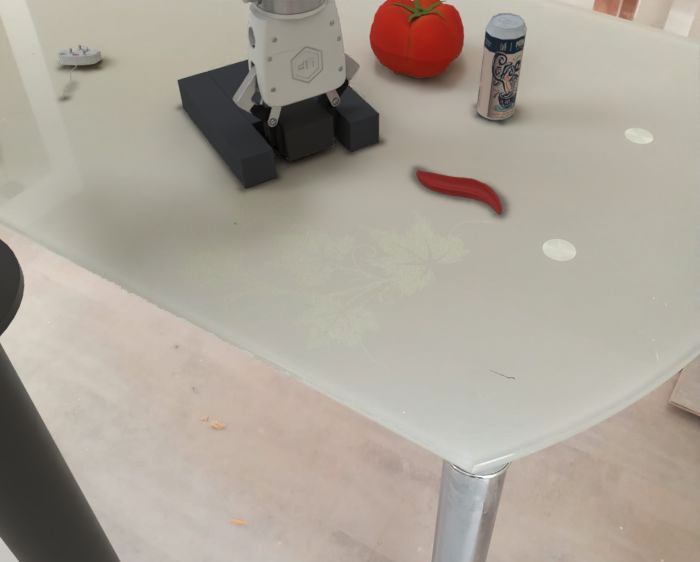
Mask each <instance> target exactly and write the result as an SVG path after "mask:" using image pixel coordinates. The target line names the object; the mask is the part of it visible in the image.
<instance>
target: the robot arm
mask: <svg viewBox="0 0 700 562" xmlns="http://www.w3.org/2000/svg"><path fill="white" fill-rule="evenodd" d="M241 1H242V3H243V4H249V3H250V4H249V8H248V9H249V10H248V19H247V59H248V62H249V73H248V75H247V76H246V78H245V79H244V81H243V82H242V84H241V86H240V87H239V89H238V90H237V92H236V93H235V95H234V96H233V101H234V102H235V104H236V105H237V106H238V107H239V108H241V109H243V110H245V111H247V112H248V113H251V114H253V116H255V117H257V118H258V119H260V120H262V121H263V122H264V130H265V138H266V142H267V143H268V144H269V145H270V146H271V147H272V149H273V150H275V151H276V153H277V154H278V155H279V156H282V155H284V152H285V146H284V137H283V126H282V124H281V123H280V122H279V121H278V119H279V115H280V112H281V108H282V106H286V105H289V104H292V103H296V102H299V101H302V100H305V99H308V98H311V97H314V96H318V95H320V96H318V99H317V102H318V103H319V104H320V105H321V106H322V107H323V108H324V109H325V110H326V111H327V112H328V113H330V114H331V115H332V116H333V129H334V138H336V136H335V125H337V114H336V106H337V105H339V103H340V97H341V95H342V94H343V92H344V91H345V90H346V88H347V87H348V85H349V86H350V81H351V80H352V79H353V78H354V77H355V75H356V74H357V72H358V71H359V69H360V64H359V63H358V62H357V61H356V60H355V59H354V58H352V57H351V56H349V54H347V53H346V52H345V45H344V44H345V43H344V37H343V31H342V27H341V26H342V25H341V21H340V16H339V11H338V7H337V3H336V0H241ZM255 91H260V94H261V97H262V98H261V102H260V104H259V103H258V102H256V101H254V100H251V98H252V96H253V95H254V93H255Z"/></svg>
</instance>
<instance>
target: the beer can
mask: <svg viewBox="0 0 700 562" xmlns="http://www.w3.org/2000/svg"><path fill="white" fill-rule="evenodd" d="M527 28H528V27H527V24H526V22H525V19H524V18H523V17H522V16H521V15H520V14H515V13H511V12H500V13H497V14H495V15H492V16H491V18H490V20H489V21H488V23H487V24H486V26H485V32H484V41H483V51H482V58H481V59H482V60H481V68H480V77H479V83H478V84H479V85H478V94H477V102H476V111H477V113H478V115H480V116H481V117H483V118H485V119H487V120H490V121H502V120H505V119H508V118H510V117H512V116H513V115H514V113H515V107H516V101H517V95H518V87H519V81H520V76H521V75H520V74H521V70H522V69H521V68H522V62H523V56H524V49H525V43H526V36H527V32H528V29H527Z"/></svg>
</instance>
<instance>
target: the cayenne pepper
mask: <svg viewBox="0 0 700 562" xmlns="http://www.w3.org/2000/svg"><path fill="white" fill-rule="evenodd" d="M416 177H417V180H418V181H419V182H420V184H422V185H423V186H424V187H426V188H427V189H429V190H432V191H434V192H437V193H441V194H443V195H449V196H456V197H463V198H468V199H472V200H477V201H479V202H483V203H485V204H487V205H489V206H490V207H491V208H492V209H493V210H494V211H495V212H496V213H497V214H498V215H502V211H503V207H502V203H501V200H500V197H499V196H498V194H497V193H496V192H495V190H493V188H492V187H491V186H489V185H488V184H487V183H484V182H482V181H480V180H477V179H475V178H471V177H465V176H463V177H462V176H452V175H446V174H440V173H436V172H432V171H431V172H430V171H426V170H425V171H424V170H421V169H417V170H416Z"/></svg>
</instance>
